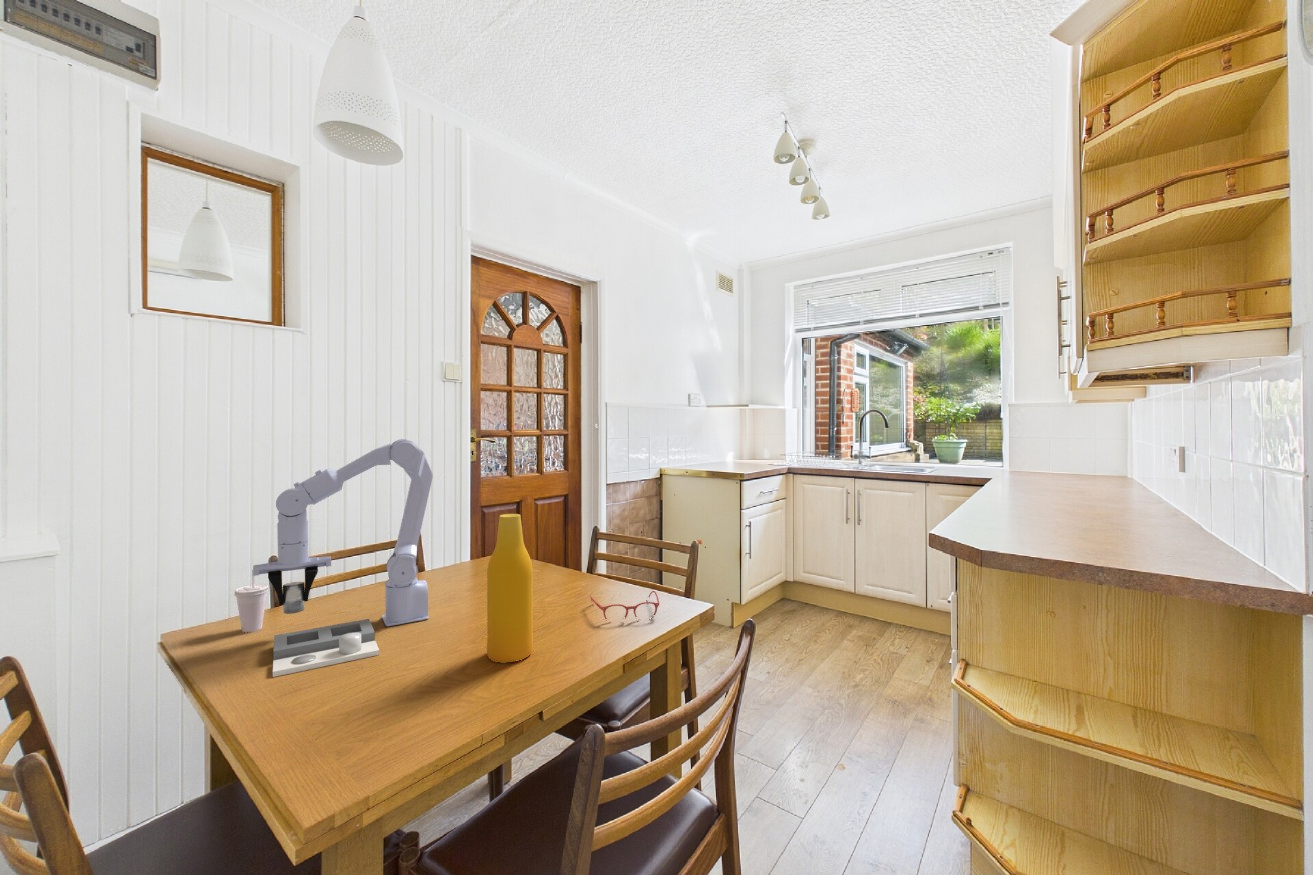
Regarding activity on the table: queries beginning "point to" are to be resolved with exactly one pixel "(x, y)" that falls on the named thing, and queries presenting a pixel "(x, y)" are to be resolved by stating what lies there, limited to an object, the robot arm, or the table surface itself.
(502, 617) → the beer bottle
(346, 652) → the white peg base plate
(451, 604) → the table surface
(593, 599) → the red eyeglasses
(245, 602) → the smoothie
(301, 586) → the pin
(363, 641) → the grey square hole plate
